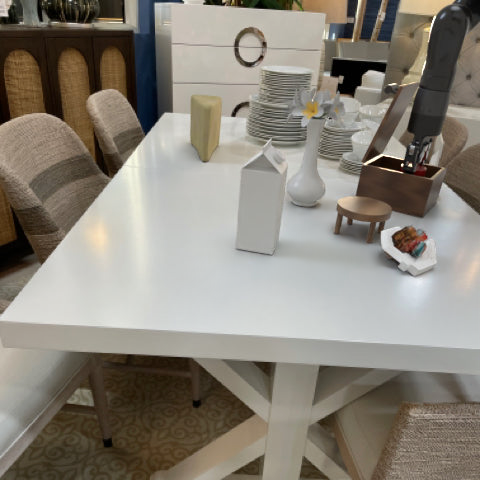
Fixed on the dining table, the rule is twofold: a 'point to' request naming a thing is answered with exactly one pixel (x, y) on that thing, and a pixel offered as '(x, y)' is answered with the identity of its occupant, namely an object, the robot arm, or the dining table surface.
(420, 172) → the can
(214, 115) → the cheese
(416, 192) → the chest
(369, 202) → the stool
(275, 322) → the dining table surface
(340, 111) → the flower vase
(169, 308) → the dining table surface
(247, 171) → the milk carton
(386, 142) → the lid
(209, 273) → the dining table surface
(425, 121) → the robot arm
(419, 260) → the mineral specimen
